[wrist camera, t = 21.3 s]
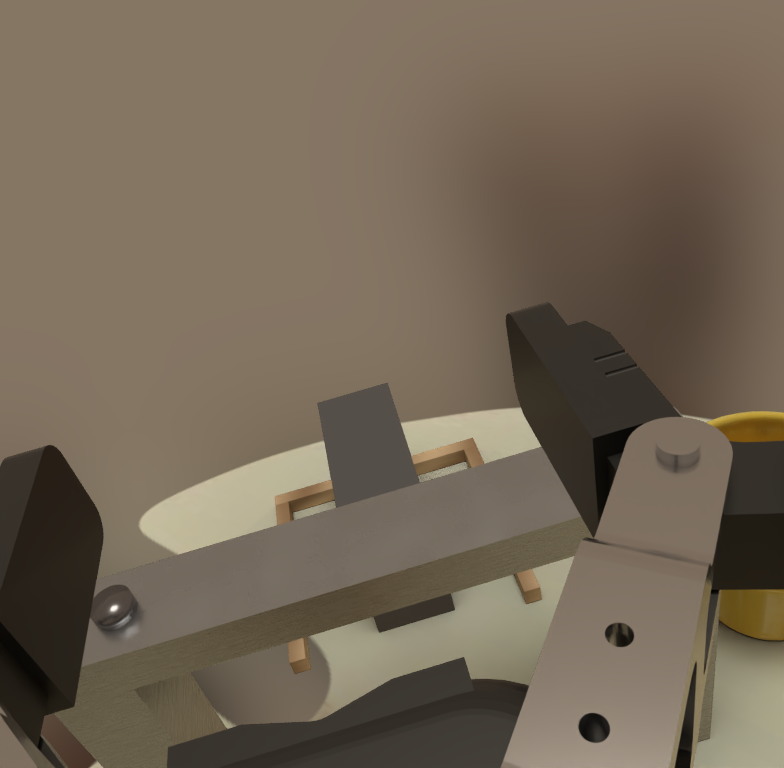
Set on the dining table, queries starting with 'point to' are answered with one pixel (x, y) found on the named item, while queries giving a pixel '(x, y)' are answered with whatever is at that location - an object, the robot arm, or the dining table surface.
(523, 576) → the bay
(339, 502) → the dark grey box
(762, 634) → the plant pot
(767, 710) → the dining table surface
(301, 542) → the grey metal arch
